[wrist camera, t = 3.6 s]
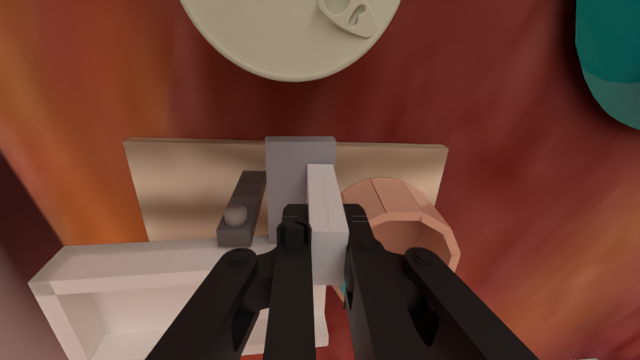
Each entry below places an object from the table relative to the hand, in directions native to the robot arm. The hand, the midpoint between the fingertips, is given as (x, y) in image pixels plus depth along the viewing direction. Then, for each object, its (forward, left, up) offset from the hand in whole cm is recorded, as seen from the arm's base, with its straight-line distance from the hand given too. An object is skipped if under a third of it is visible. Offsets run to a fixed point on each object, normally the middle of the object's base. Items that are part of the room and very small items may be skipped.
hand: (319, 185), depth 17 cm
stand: (+8, -2, -9) cm, 12 cm away
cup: (+8, +6, -8) cm, 13 cm away
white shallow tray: (+5, -7, -1) cm, 9 cm away
